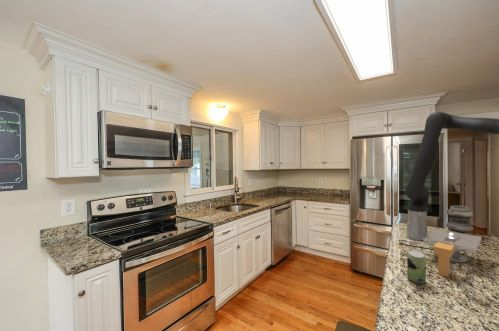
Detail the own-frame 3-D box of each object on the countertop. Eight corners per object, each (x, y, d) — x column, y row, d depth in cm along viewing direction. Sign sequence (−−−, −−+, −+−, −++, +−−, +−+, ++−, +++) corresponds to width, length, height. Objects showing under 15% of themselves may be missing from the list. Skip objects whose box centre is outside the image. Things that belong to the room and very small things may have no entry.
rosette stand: (423, 260, 108) (422, 234, 108) (433, 248, 121) (433, 225, 120) (476, 274, 94) (476, 245, 94) (481, 259, 107) (481, 233, 106)
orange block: (433, 274, 96) (433, 246, 95) (437, 268, 100) (437, 242, 100) (451, 279, 92) (450, 250, 91) (454, 273, 96) (454, 245, 96)
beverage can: (422, 277, 93) (421, 249, 93) (429, 287, 87) (429, 256, 86) (404, 275, 96) (404, 247, 95) (410, 285, 89) (410, 255, 88)
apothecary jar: (450, 237, 135) (449, 208, 135) (444, 231, 146) (443, 204, 145) (477, 240, 130) (477, 209, 129) (468, 233, 140) (468, 205, 140)
